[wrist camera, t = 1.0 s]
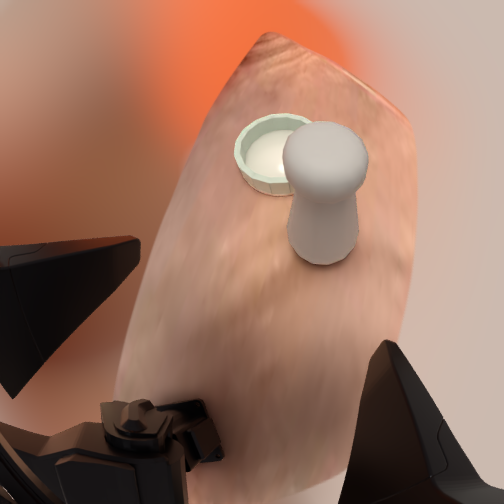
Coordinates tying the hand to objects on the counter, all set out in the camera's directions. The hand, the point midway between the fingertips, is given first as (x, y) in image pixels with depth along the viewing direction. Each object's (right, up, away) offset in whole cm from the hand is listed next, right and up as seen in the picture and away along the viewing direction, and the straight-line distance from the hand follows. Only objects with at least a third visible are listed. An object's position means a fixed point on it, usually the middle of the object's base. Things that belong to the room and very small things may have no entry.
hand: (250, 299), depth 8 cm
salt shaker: (+6, +3, +15) cm, 17 cm away
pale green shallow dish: (+3, +11, +18) cm, 22 cm away
